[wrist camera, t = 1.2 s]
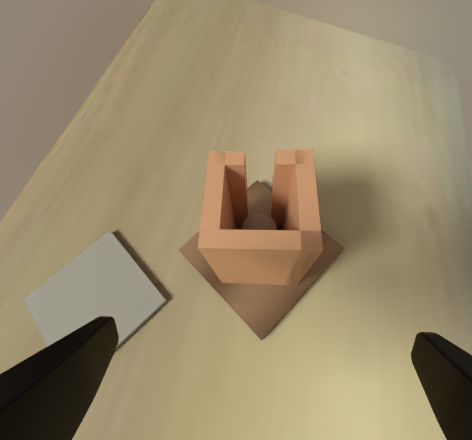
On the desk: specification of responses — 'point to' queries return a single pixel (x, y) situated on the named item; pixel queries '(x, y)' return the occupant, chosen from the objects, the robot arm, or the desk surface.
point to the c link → (261, 241)
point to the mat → (95, 293)
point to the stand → (260, 295)
